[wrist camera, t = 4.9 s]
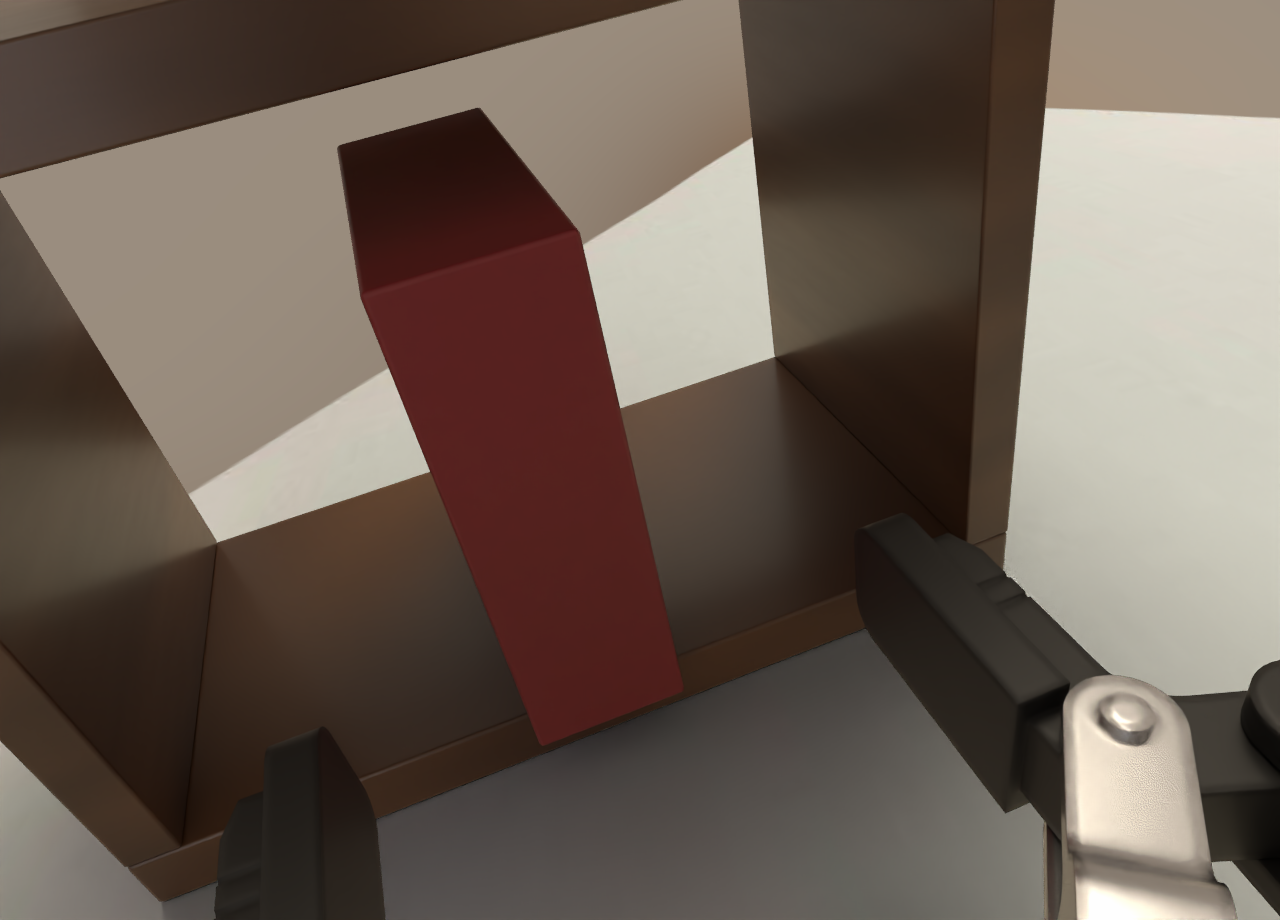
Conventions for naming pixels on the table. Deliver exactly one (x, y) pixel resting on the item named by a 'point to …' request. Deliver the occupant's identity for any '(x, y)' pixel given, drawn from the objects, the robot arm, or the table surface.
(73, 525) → the bookcase
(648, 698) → the book
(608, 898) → the table surface
